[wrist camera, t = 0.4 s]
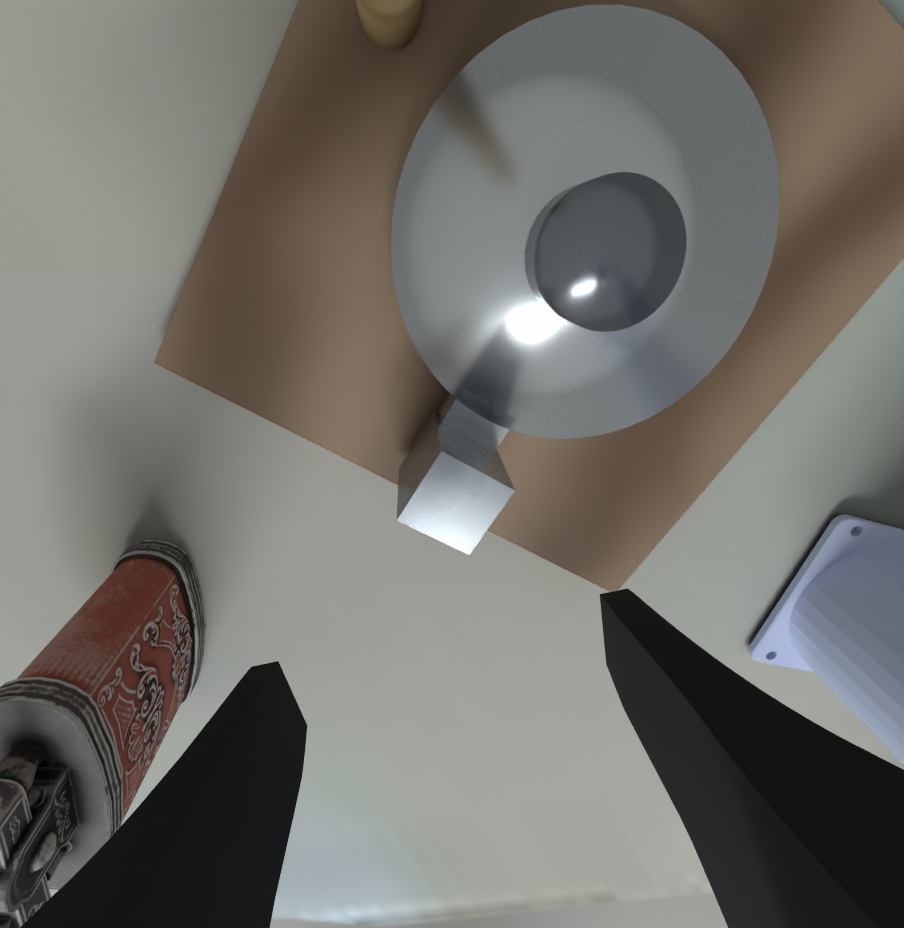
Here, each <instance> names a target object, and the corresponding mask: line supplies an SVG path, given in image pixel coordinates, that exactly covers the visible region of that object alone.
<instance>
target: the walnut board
mask: <svg viewBox="0 0 904 928" xmlns="http://www.w3.org/2000/svg"><path fill="white" fill-rule="evenodd" d="M617 4H619V5H625V6H631V7H637V8H643V9H649V10H651V11H654V12H657V13H660V14H663V15H666V16H668V17H671V18H674V19H676V20H678V21H680V22H681V23H683V24H685V25H687V26H688V27H690V28H692V29H694V30H696V31H697V32H699V33H700V34H702V35H703V36H704V37H705V38H707V39H708V40H709V41H710V42H711V43H713V44H714V45H715V46H716V47H718V48H719V49H720V50H721V51H722V52H723V53H724V54H725V55H726V56H727V58H728V59H729V60H730V61H731V62H732V63H733V64H734V66H735V67H736V68H737V69H738V70H739V71H740V73H741V74H742V76H743V77H744V79H745V80H746V82H747V84H748V85H749V87H750V88H751V90H752V91H753V93H754V95H755V96H756V99H757V101H758V103H759V105H760V108H761V110H762V112H763V114H764V117H765V119H766V121H767V124H768V128H769V131H770V135H771V138H772V142H773V145H774V149H775V155H776V161H777V168H778V175H779V199H780V208H779V219H778V230H777V237H776V242H775V247H774V252H773V257H772V261H771V264H770V268H769V271H768V274H767V277H766V280H765V283H764V287H763V289H762V291H761V293H760V296H759V298H758V300H757V303H756V305H755V307H754V309H753V312H752V313H751V315H750V317H749V319H748V320H747V322H746V324H745V326H744V328H743V329H742V331H741V333H740V335H739V336H738V337H737V339H736V340H735V342H734V343H733V344H732V346H731V347H730V349H729V350H728V351H727V353H726V354H725V356H724V357H723V358H722V359H721V360H720V361H719V362H718V364H717V365H716V366H715V367H714V368H713V369H712V370H711V371H710V373H709V374H708V375H707V376H706V377H705V378H703V379H702V380H701V381H700V382H699V383H698V384H697V385H696V386H695V387H694V388H693V389H692V390H690V391H689V392H688V393H687V394H685V395H684V396H683V397H681V398H680V399H678V400H677V401H676V402H674V403H673V404H672V405H670V406H669V407H667V408H665V409H664V410H662V411H660V412H658V413H657V414H655V415H653V416H652V417H650V418H648V419H645V420H643V421H641V422H639V423H636V424H634V425H632V426H630V427H627V428H623V429H620V430H617V431H614V432H611V433H607V434H602V435H597V436H591V437H585V438H570V439H559V438H543V437H538V436H532V435H527V434H522V433H519V432H516V431H513V430H509V431H508V433H507V434H506V436H505V437H504V439H503V440H502V442H501V443H500V445H499V446H498V447H497V451H498V453H499V455H500V458H501V460H502V462H503V464H504V467H505V469H506V471H507V473H508V476H509V478H510V480H511V482H512V485H513V487H514V489H515V492H514V493H513V494H512V496H511V497H510V499H509V500H508V501H507V503H506V504H505V506H504V507H503V508H502V510H501V511H500V513H499V514H498V515H497V517H496V518H495V520H494V521H493V522H492V524H491V525H490V527H489V528H488V529H487V530H488V531H490V532H492V533H494V534H496V535H498V536H500V537H502V538H504V539H506V540H508V541H510V542H512V543H514V544H516V545H518V546H520V547H522V548H524V549H526V550H528V551H530V552H532V553H534V554H536V555H538V556H540V557H542V558H544V559H546V560H548V561H550V562H552V563H554V564H556V565H558V566H560V567H562V568H564V569H566V570H568V571H570V572H572V573H574V574H576V575H578V576H580V577H582V578H584V579H586V580H588V581H590V582H592V583H594V584H596V585H598V586H600V587H602V588H604V589H606V590H608V591H610V592H614V591H618V590H619V588H620V587H621V586H622V585H623V584H624V583H625V582H626V580H627V579H628V578H629V577H630V576H631V575H632V573H633V572H634V571H635V570H636V569H637V568H638V566H639V565H640V564H641V563H642V562H643V561H644V559H645V558H646V557H647V556H648V555H649V554H650V552H651V551H652V550H653V549H654V548H655V547H656V545H657V544H658V543H659V542H660V541H661V540H662V538H663V537H664V536H665V535H666V534H667V533H668V531H669V530H670V529H671V528H672V527H673V526H674V525H675V523H676V522H677V521H678V520H679V519H680V518H681V516H682V515H683V514H684V513H685V512H686V511H687V509H688V508H689V507H690V506H691V505H692V504H693V502H694V501H695V500H696V499H697V498H698V497H699V495H700V494H701V493H702V492H703V491H704V490H705V488H706V487H707V486H708V485H709V484H710V483H711V481H712V480H713V479H714V478H715V477H716V476H717V474H718V473H719V472H720V471H721V470H722V469H723V468H724V466H725V465H726V464H727V463H728V462H729V461H730V459H731V458H732V457H733V456H734V455H735V454H736V452H737V451H738V450H739V449H740V448H741V447H742V445H743V444H744V443H745V442H746V441H747V440H748V438H749V437H750V436H751V435H752V434H753V433H754V431H755V430H756V429H757V428H758V427H759V426H760V424H761V423H762V422H763V421H764V420H765V419H766V417H767V416H768V415H769V414H770V413H771V412H772V411H773V409H774V408H775V407H776V406H777V405H778V404H779V402H780V401H781V400H782V399H783V398H784V397H785V395H786V394H787V393H788V392H789V391H790V390H791V388H792V387H793V386H794V385H795V384H796V383H797V381H798V380H799V379H800V378H801V377H802V376H803V374H804V373H805V372H806V371H807V370H808V369H809V367H810V366H811V365H812V364H813V363H814V362H815V360H816V359H817V358H818V357H819V356H820V355H821V354H822V352H823V351H824V350H825V349H826V348H827V347H828V345H829V344H830V343H831V342H832V341H833V340H834V338H835V337H836V336H837V335H838V334H839V333H840V331H841V330H842V329H843V328H844V327H845V326H846V324H847V323H848V322H849V321H850V320H851V319H852V317H853V316H854V315H855V314H856V313H857V312H858V310H859V309H860V308H861V307H862V306H863V305H864V303H865V302H866V301H867V300H868V299H869V298H870V297H871V295H872V294H873V293H874V292H875V291H876V290H877V288H878V287H879V286H880V285H881V284H882V283H883V281H884V280H885V279H886V278H887V277H888V276H889V274H890V273H891V272H892V271H893V270H894V269H895V267H896V266H897V265H898V264H899V263H900V262H901V260H902V259H903V258H904V29H903V28H902V27H901V26H900V25H899V23H898V22H897V21H896V20H895V19H894V18H893V17H892V15H891V14H890V13H889V12H888V11H887V10H886V9H885V7H884V6H883V5H882V4H881V3H880V2H879V0H299V2H298V4H297V7H296V9H295V12H294V14H293V17H292V19H291V22H290V24H289V27H288V29H287V32H286V34H285V37H284V39H283V42H282V44H281V47H280V49H279V52H278V54H277V57H276V59H275V62H274V64H273V67H272V69H271V72H270V74H269V77H268V79H267V82H266V84H265V87H264V89H263V92H262V94H261V97H260V99H259V102H258V104H257V107H256V109H255V112H254V114H253V117H252V119H251V122H250V124H249V127H248V129H247V132H246V134H245V137H244V139H243V142H242V144H241V147H240V149H239V152H238V154H237V157H236V159H235V162H234V164H233V167H232V169H231V172H230V174H229V177H228V179H227V182H226V184H225V187H224V189H223V192H222V194H221V197H220V199H219V202H218V204H217V207H216V209H215V212H214V214H213V217H212V219H211V222H210V224H209V227H208V229H207V232H206V234H205V237H204V239H203V242H202V244H201V247H200V249H199V252H198V254H197V257H196V259H195V262H194V264H193V267H192V269H191V272H190V274H189V277H188V279H187V282H186V284H185V287H184V289H183V292H182V294H181V297H180V299H179V302H178V304H177V307H176V309H175V312H174V314H173V317H172V319H171V322H170V324H169V327H168V329H167V332H166V334H165V337H164V339H163V342H162V344H161V347H160V349H159V352H158V354H157V357H156V359H155V362H154V363H155V364H157V365H159V366H161V367H163V368H165V369H167V370H169V371H171V372H173V373H175V374H177V375H179V376H181V377H183V378H185V379H187V380H189V381H191V382H193V383H195V384H197V385H199V386H201V387H203V388H205V389H207V390H209V391H211V392H213V393H215V394H217V395H219V396H221V397H223V398H225V399H227V400H229V401H231V402H233V403H235V404H237V405H239V406H241V407H243V408H245V409H247V410H249V411H251V412H253V413H255V414H257V415H259V416H261V417H263V418H265V419H267V420H269V421H271V422H273V423H275V424H277V425H279V426H281V427H283V428H285V429H287V430H289V431H291V432H293V433H295V434H297V435H299V436H301V437H303V438H305V439H307V440H309V441H311V442H313V443H315V444H317V445H319V446H321V447H323V448H325V449H327V450H329V451H331V452H333V453H335V454H337V455H339V456H341V457H343V458H345V459H347V460H349V461H351V462H353V463H355V464H357V465H359V466H361V467H363V468H365V469H367V470H369V471H371V472H373V473H375V474H377V475H379V476H381V477H383V478H385V479H387V480H389V481H391V482H393V483H395V484H397V485H398V477H399V467H400V465H401V464H402V462H403V461H404V459H405V457H406V456H407V454H408V452H409V451H410V449H411V448H412V446H413V444H414V443H415V441H416V439H417V438H418V436H419V435H420V433H421V431H422V430H423V428H424V426H425V425H426V423H427V422H428V420H429V418H430V417H431V415H432V413H433V412H434V410H435V411H437V412H438V413H439V411H440V409H441V408H442V406H443V405H444V403H445V401H446V400H447V398H448V397H449V395H450V392H448V391H447V390H446V389H445V388H444V386H443V385H442V384H441V383H440V382H439V381H438V379H437V378H436V377H435V376H434V375H433V374H432V373H431V371H430V370H429V368H428V367H427V365H426V364H425V362H424V361H423V359H422V358H421V356H420V355H419V353H418V351H417V349H416V347H415V345H414V343H413V341H412V339H411V337H410V335H409V333H408V331H407V329H406V326H405V323H404V320H403V317H402V314H401V311H400V308H399V305H398V301H397V296H396V291H395V286H394V281H393V274H392V262H391V226H392V216H393V209H394V203H395V197H396V191H397V187H398V184H399V180H400V177H401V173H402V170H403V167H404V163H405V160H406V158H407V155H408V153H409V151H410V148H411V146H412V144H413V141H414V139H415V137H416V134H417V132H418V130H419V128H420V127H421V125H422V123H423V121H424V120H425V118H426V116H427V115H428V113H429V111H430V109H431V108H432V106H433V104H434V103H435V101H436V100H437V99H438V98H439V96H440V95H441V94H442V92H443V91H444V90H445V88H446V87H447V86H448V85H449V83H450V82H451V81H452V79H453V78H454V77H455V76H456V75H457V74H458V73H459V72H460V71H461V70H462V69H463V68H464V67H465V66H466V65H467V64H468V63H469V62H470V61H471V60H472V59H473V58H474V57H475V56H476V55H477V54H479V53H480V52H481V51H483V50H484V49H485V48H487V47H488V46H489V45H491V44H492V43H493V42H495V41H496V40H497V39H499V38H500V37H501V36H503V35H505V34H507V33H508V32H510V31H512V30H514V29H516V28H518V27H519V26H521V25H523V24H525V23H527V22H529V21H531V20H534V19H536V18H539V17H542V16H545V15H548V14H550V13H553V12H556V11H559V10H564V9H569V8H575V7H580V6H586V5H617Z"/></svg>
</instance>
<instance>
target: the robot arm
mask: <svg viewBox="0 0 904 928" xmlns="http://www.w3.org/2000/svg"><path fill="white" fill-rule="evenodd" d="M600 601H601V612H602V623H603V633H604V644H605V655H606V664H607V667H608V669H609V672H610V674H611V677H612V680H613V682H614V685H615V687H616V690H617V692H618V695H619V697H620V700H621V702H622V705H623V707H624V710H625V712H626V714H627V716H628V718H629V720H630V721H631V723H632V725H633V727H634V729H635V731H636V733H637V735H638V737H639V739H640V741H641V743H642V745H643V747H644V748H645V750H646V752H647V754H648V756H649V758H650V760H651V762H652V764H653V766H654V768H655V769H656V771H657V773H658V775H659V777H660V779H661V781H662V783H663V785H664V787H665V789H666V790H667V792H668V794H669V796H670V798H671V800H672V802H673V804H674V806H675V808H676V810H677V811H678V813H679V815H680V817H681V819H682V822H683V824H684V826H685V828H686V830H687V832H688V834H689V836H690V838H691V840H692V843H693V845H694V847H695V850H696V852H697V854H698V857H699V859H700V861H701V864H702V866H703V868H704V871H705V873H706V875H707V878H708V880H709V882H710V885H711V887H712V890H713V892H714V894H715V897H716V899H717V901H718V904H719V906H720V909H721V911H722V914H723V916H724V918H725V921H726V923H727V926H728V928H904V770H903V769H901V768H899V767H897V766H895V765H893V764H891V763H889V762H887V761H885V760H883V759H881V758H879V757H877V756H875V755H874V754H872V753H870V752H868V751H866V750H864V749H862V748H860V747H858V746H856V745H854V744H852V743H850V742H848V741H846V740H844V739H842V738H841V737H839V736H837V735H835V734H833V733H832V732H830V731H828V730H826V729H824V728H823V727H821V726H819V725H817V724H815V723H814V722H812V721H810V720H809V719H807V718H805V717H804V716H802V715H800V714H799V713H797V712H795V711H794V710H792V709H790V708H789V707H787V706H785V705H784V704H782V703H781V702H779V701H777V700H776V699H774V698H773V697H771V696H769V695H768V694H766V693H765V692H763V691H762V690H760V689H759V688H757V687H756V686H754V685H753V684H751V683H750V682H748V681H747V680H745V679H744V678H742V677H741V676H740V675H738V674H737V673H735V672H734V671H732V670H731V669H729V668H728V667H727V666H725V665H724V664H722V663H721V662H720V661H718V660H717V659H715V658H714V657H713V656H711V655H710V654H709V653H707V652H706V651H705V650H703V649H702V648H701V647H700V646H698V645H697V644H696V643H694V642H693V641H692V640H690V639H689V638H688V637H686V636H685V635H684V634H683V633H681V632H680V631H679V630H677V629H676V628H675V627H674V626H672V625H671V624H670V623H669V622H668V621H666V620H665V619H664V618H663V617H661V616H660V615H659V614H658V613H657V612H655V611H654V610H653V609H652V608H651V607H649V606H648V605H647V604H646V603H645V602H644V601H642V600H641V599H640V598H639V597H638V596H636V595H635V594H634V593H633V592H632V591H630V590H629V589H623V590H619V591H614V592H609V593H604V594H600ZM748 654H749V655H750V656H751V658H752V659H753V660H755V661H758V662H764V663H769V664H774V665H780V666H785V667H790V668H796V669H801V670H806V671H812V672H815V673H816V674H817V675H818V676H819V677H820V678H821V679H822V680H823V681H824V682H825V683H826V685H827V686H828V687H829V688H830V689H831V690H832V691H833V692H834V693H835V694H836V695H837V696H838V697H839V698H840V699H841V700H842V701H843V702H844V703H845V704H846V705H847V706H848V707H849V709H850V710H851V711H852V712H853V713H854V714H855V715H856V716H857V717H858V718H859V719H860V720H861V721H862V722H863V723H864V724H865V725H866V726H867V727H868V728H869V729H870V730H871V731H872V732H873V734H874V735H875V736H876V737H877V738H878V739H879V740H880V741H881V742H882V743H883V744H884V745H885V746H886V747H887V748H888V749H889V750H890V751H891V752H892V753H893V754H894V755H895V756H896V758H897V759H898V760H899V761H900V762H901V763H902V764H903V765H904V529H900V528H896V527H892V526H889V525H885V524H881V523H877V522H873V521H869V520H866V519H862V518H858V517H854V516H850V515H844V514H843V515H840V516H837V517H836V518H834V519H833V520H832V521H831V523H830V524H829V526H828V527H827V529H826V530H825V532H824V533H823V535H822V536H821V538H820V539H819V541H818V542H817V544H816V545H815V547H814V548H813V550H812V551H811V553H810V554H809V556H808V558H807V559H806V561H805V562H804V564H803V565H802V567H801V568H800V570H799V571H798V573H797V574H796V576H795V577H794V579H793V580H792V582H791V583H790V585H789V586H788V588H787V589H786V591H785V592H784V594H783V596H782V597H781V599H780V600H779V602H778V603H777V605H776V606H775V608H774V609H773V611H772V612H771V614H770V615H769V617H768V618H767V620H766V621H765V623H764V624H763V626H762V627H761V629H760V630H759V632H758V633H757V635H756V637H755V638H754V640H753V641H752V643H751V644H750V646H749V648H748ZM306 733H307V724H306V722H305V720H304V717H303V715H302V713H301V711H300V709H299V706H298V704H297V702H296V700H295V697H294V695H293V693H292V691H291V689H290V686H289V684H288V682H287V680H286V678H285V675H284V673H283V671H282V669H281V666H280V664H279V662H278V661H277V662H273V663H268V664H263V665H258V666H253V667H251V668H250V669H249V670H248V672H247V673H246V674H245V675H244V676H243V678H242V679H241V680H240V682H239V683H238V684H237V685H236V687H235V688H234V689H233V691H232V692H231V693H230V694H229V696H228V697H227V698H226V700H225V701H224V702H223V704H222V705H221V706H220V707H219V709H218V710H217V711H216V713H215V714H214V715H213V717H212V718H211V719H210V720H209V722H208V723H207V724H206V725H205V727H204V728H203V729H202V731H201V732H200V733H199V734H198V736H197V737H196V738H195V739H194V741H193V742H192V743H191V744H190V746H189V747H188V748H187V750H186V751H185V752H184V753H183V755H182V756H181V757H180V758H179V760H178V761H177V762H176V763H175V764H174V765H173V767H172V768H171V769H170V770H169V771H168V773H167V774H166V775H165V776H164V777H163V778H162V780H161V781H160V782H159V783H158V784H157V786H156V787H155V788H154V789H153V790H152V791H151V793H150V794H149V795H148V796H147V797H146V799H145V800H144V801H143V802H142V803H141V804H140V806H139V807H138V808H137V809H136V810H135V811H134V812H133V814H132V815H131V816H130V817H129V818H128V819H127V820H126V821H125V823H124V824H123V825H122V826H121V827H120V828H119V829H118V830H117V831H116V832H115V833H114V835H113V836H112V837H111V838H110V839H109V840H108V841H107V842H106V843H105V844H104V845H103V846H102V847H101V848H100V849H99V850H98V851H97V852H96V853H95V854H94V856H93V857H92V858H91V859H90V860H89V861H88V862H87V863H86V864H85V865H84V866H83V867H82V868H81V869H80V870H79V871H78V872H77V873H76V874H75V875H74V876H73V877H72V878H71V879H70V880H69V881H68V882H67V883H66V884H65V885H64V886H63V887H62V888H61V889H60V890H59V891H58V892H57V893H55V894H54V895H53V896H52V897H51V898H50V899H49V900H48V901H47V902H46V903H45V904H44V905H43V906H42V907H41V908H40V909H39V910H38V911H37V912H36V913H35V914H34V915H33V916H31V917H30V918H29V919H28V920H27V921H26V922H25V923H24V924H23V925H22V926H21V927H20V928H270V922H271V917H272V912H273V906H274V901H275V896H276V892H277V887H278V883H279V878H280V874H281V869H282V865H283V860H284V856H285V851H286V847H287V842H288V838H289V834H290V829H291V825H292V820H293V816H294V811H295V806H296V802H297V797H298V793H299V788H300V783H301V778H302V772H303V763H304V755H305V744H306Z"/></svg>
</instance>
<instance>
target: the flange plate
mask: <svg viewBox="0 0 904 928" xmlns="http://www.w3.org/2000/svg"><path fill="white" fill-rule="evenodd" d="M779 208H780V199H779V175H778V168H777V161H776V155H775V149H774V145H773V142H772V138H771V135H770V131H769V128H768V124H767V121H766V119H765V117H764V114H763V112H762V110H761V108H760V105H759V103H758V101H757V99H756V96H755V95H754V93H753V91H752V90H751V88H750V87H749V85H748V84H747V82H746V80H745V79H744V77H743V76H742V74H741V73H740V71H739V70H738V69H737V68H736V67H735V66H734V64H733V63H732V62H731V61H730V60H729V59H728V58H727V56H726V55H725V54H724V53H723V52H722V51H721V50H720V49H719V48H718V47H716V46H715V45H714V44H713V43H711V42H710V41H709V40H708V39H707V38H705V37H704V36H703V35H702V34H700V33H699V32H697V31H696V30H694V29H692V28H690V27H688V26H687V25H685V24H683V23H681V22H680V21H678V20H676V19H674V18H671V17H668V16H666V15H663V14H660V13H657V12H654V11H651V10H649V9H643V8H637V7H631V6H625V5H619V4H617V5H586V6H580V7H575V8H569V9H564V10H559V11H556V12H553V13H550V14H548V15H545V16H542V17H539V18H536V19H534V20H531V21H529V22H527V23H525V24H523V25H521V26H519V27H518V28H516V29H514V30H512V31H510V32H508V33H507V34H505V35H503V36H501V37H500V38H499V39H497V40H496V41H495V42H493V43H492V44H491V45H489V46H488V47H487V48H485V49H484V50H483V51H481V52H480V53H479V54H477V55H476V56H475V57H474V58H473V59H472V60H471V61H470V62H469V63H468V64H467V65H466V66H465V67H464V68H463V69H462V70H461V71H460V72H459V73H458V74H457V75H456V76H455V77H454V78H453V79H452V81H451V82H450V83H449V85H448V86H447V87H446V88H445V90H444V91H443V92H442V94H441V95H440V96H439V98H438V99H437V100H436V101H435V103H434V104H433V106H432V108H431V109H430V111H429V113H428V115H427V116H426V118H425V120H424V121H423V123H422V125H421V127H420V128H419V130H418V132H417V134H416V137H415V139H414V141H413V144H412V146H411V148H410V151H409V153H408V155H407V158H406V160H405V163H404V167H403V170H402V173H401V177H400V180H399V184H398V187H397V191H396V197H395V203H394V209H393V216H392V226H391V262H392V274H393V281H394V286H395V291H396V296H397V301H398V305H399V308H400V311H401V314H402V317H403V320H404V323H405V326H406V329H407V331H408V333H409V335H410V337H411V339H412V341H413V343H414V345H415V347H416V349H417V351H418V353H419V355H420V356H421V358H422V359H423V361H424V362H425V364H426V365H427V367H428V368H429V370H430V371H431V373H432V374H433V375H434V376H435V377H436V378H437V379H438V381H439V382H440V383H441V384H442V385H443V386H444V388H445V389H446V390H447V391H448V392H450V395H449V397H448V398H447V400H446V401H445V403H444V405H443V406H442V408H441V409H440V411H439V413H438V412H437V411H435V410H434V412H433V413H432V415H431V417H430V418H429V420H428V422H427V423H426V425H425V426H424V428H423V430H422V431H421V433H420V435H419V436H418V438H417V439H416V441H415V443H414V444H413V446H412V448H411V449H410V451H409V452H408V454H407V456H406V457H405V459H404V461H403V462H402V464H401V465H400V467H399V477H398V506H397V521H399V522H401V523H404V524H406V525H408V526H410V527H412V528H414V529H416V530H418V531H420V532H422V533H424V534H426V535H429V536H431V537H433V538H435V539H437V540H439V541H441V542H443V543H445V544H447V545H449V546H451V547H454V548H456V549H458V550H460V551H462V552H464V553H466V554H468V555H470V553H471V552H472V550H473V549H474V548H475V546H476V545H477V543H478V542H479V541H480V539H481V538H482V536H483V535H484V534H485V532H486V531H487V529H488V528H489V527H490V525H491V524H492V522H493V521H494V520H495V518H496V517H497V515H498V514H499V513H500V511H501V510H502V508H503V507H504V506H505V504H506V503H507V501H508V500H509V499H510V497H511V496H512V494H513V493H514V492H515V489H514V487H513V485H512V482H511V480H510V478H509V476H508V473H507V471H506V469H505V467H504V464H503V462H502V460H501V458H500V455H499V453H498V451H497V447H498V446H499V445H500V443H501V442H502V440H503V439H504V437H505V436H506V434H507V433H508V431H509V430H513V431H516V432H519V433H522V434H527V435H532V436H538V437H543V438H559V439H570V438H585V437H591V436H597V435H602V434H607V433H611V432H614V431H617V430H620V429H623V428H627V427H630V426H632V425H634V424H636V423H639V422H641V421H643V420H645V419H648V418H650V417H652V416H653V415H655V414H657V413H658V412H660V411H662V410H664V409H665V408H667V407H669V406H670V405H672V404H673V403H674V402H676V401H677V400H678V399H680V398H681V397H683V396H684V395H685V394H687V393H688V392H689V391H690V390H692V389H693V388H694V387H695V386H696V385H697V384H698V383H699V382H700V381H701V380H702V379H703V378H705V377H706V376H707V375H708V374H709V373H710V371H711V370H712V369H713V368H714V367H715V366H716V365H717V364H718V362H719V361H720V360H721V359H722V358H723V357H724V356H725V354H726V353H727V351H728V350H729V349H730V347H731V346H732V344H733V343H734V342H735V340H736V339H737V337H738V336H739V335H740V333H741V331H742V329H743V328H744V326H745V324H746V322H747V320H748V319H749V317H750V315H751V313H752V312H753V309H754V307H755V305H756V303H757V300H758V298H759V296H760V293H761V291H762V289H763V287H764V283H765V280H766V277H767V274H768V271H769V268H770V264H771V261H772V257H773V252H774V247H775V242H776V237H777V230H778V219H779Z"/></svg>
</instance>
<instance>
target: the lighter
mask: <svg viewBox="0 0 904 928" xmlns="http://www.w3.org/2000/svg"><path fill="white" fill-rule="evenodd" d="M205 627H206V624H205V616H204V608H203V600H202V593H201V589H200V586H199V582H198V578H197V575H196V571H195V568H194V564H193V562H192V560H191V558H190V556H189V555H188V554H187V553H186V552H185V551H184V550H183V549H182V548H180V547H178V546H176V545H174V544H172V543H170V542H165V541H161V540H144V541H140V542H137V543H134V544H133V545H131V546H130V547H129V548H128V549H126V550H125V552H124V553H123V554H122V555H121V556H120V557H119V558H118V559H117V560H116V561H115V562H114V565H113V567H112V569H111V574H110V576H109V577H108V578H107V579H106V581H105V582H104V583H103V584H102V585H101V586H100V587H99V588H98V589H97V590H96V592H95V593H94V594H93V595H92V596H91V597H90V598H89V599H88V600H87V602H86V603H85V604H84V605H83V606H82V607H81V608H80V609H79V610H78V612H77V613H76V614H75V615H74V616H73V617H72V618H71V619H70V620H69V621H68V623H67V624H66V625H65V626H64V627H63V628H62V629H61V630H60V631H59V633H58V634H57V635H56V636H55V637H54V638H53V639H52V640H51V641H50V643H49V644H48V645H47V646H46V647H45V648H44V649H43V650H42V651H41V653H40V654H39V655H38V656H37V657H36V658H35V659H34V660H33V661H32V662H31V664H30V665H29V666H28V667H27V668H26V669H25V670H24V671H23V672H22V674H21V675H20V676H19V677H18V678H17V679H16V680H13V681H9V682H6V683H5V684H4V685H2V686H1V687H0V928H20V927H21V926H22V925H23V924H24V923H25V922H26V921H27V920H28V919H29V918H30V917H31V916H33V915H34V914H35V913H36V912H37V911H38V910H39V909H40V908H41V907H42V906H43V905H44V904H45V903H46V902H47V901H48V900H49V899H50V898H51V895H50V891H49V889H56V890H60V889H61V888H62V887H63V886H64V885H65V884H66V883H67V882H68V881H69V880H70V879H71V878H72V877H73V876H74V875H75V874H76V873H77V872H78V871H79V870H80V869H81V868H82V867H83V866H84V865H85V864H86V863H87V862H88V861H89V860H90V859H91V858H92V857H93V856H94V854H95V853H96V852H97V851H98V850H99V849H100V848H101V847H102V846H103V845H104V844H105V843H106V842H107V841H108V840H109V839H110V838H111V837H112V836H113V835H114V833H115V832H116V831H117V830H118V829H119V828H120V827H121V824H122V821H123V819H124V817H125V815H126V813H127V811H128V809H129V807H130V805H131V803H132V801H133V799H134V797H135V795H136V793H137V791H138V789H139V787H140V785H141V783H142V781H143V779H144V777H145V775H146V773H147V771H148V769H149V767H150V765H151V763H152V761H153V759H154V757H155V755H156V753H157V751H158V749H159V747H160V745H161V743H162V740H163V738H164V736H165V734H166V732H167V730H168V728H169V726H170V724H171V722H172V720H173V718H174V716H175V714H176V712H177V710H178V708H179V707H180V706H181V705H182V704H184V703H185V702H187V700H188V698H189V697H190V695H191V693H192V690H193V688H194V686H195V684H196V682H197V680H198V676H199V672H200V668H201V664H202V659H203V655H204V642H205Z"/></svg>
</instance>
